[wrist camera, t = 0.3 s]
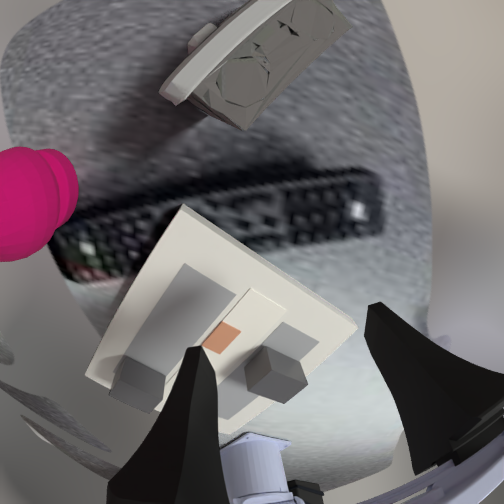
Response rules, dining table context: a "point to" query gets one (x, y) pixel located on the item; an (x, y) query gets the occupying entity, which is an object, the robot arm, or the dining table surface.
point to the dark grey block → (274, 375)
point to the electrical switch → (253, 57)
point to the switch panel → (216, 316)
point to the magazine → (306, 491)
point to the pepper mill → (33, 199)
